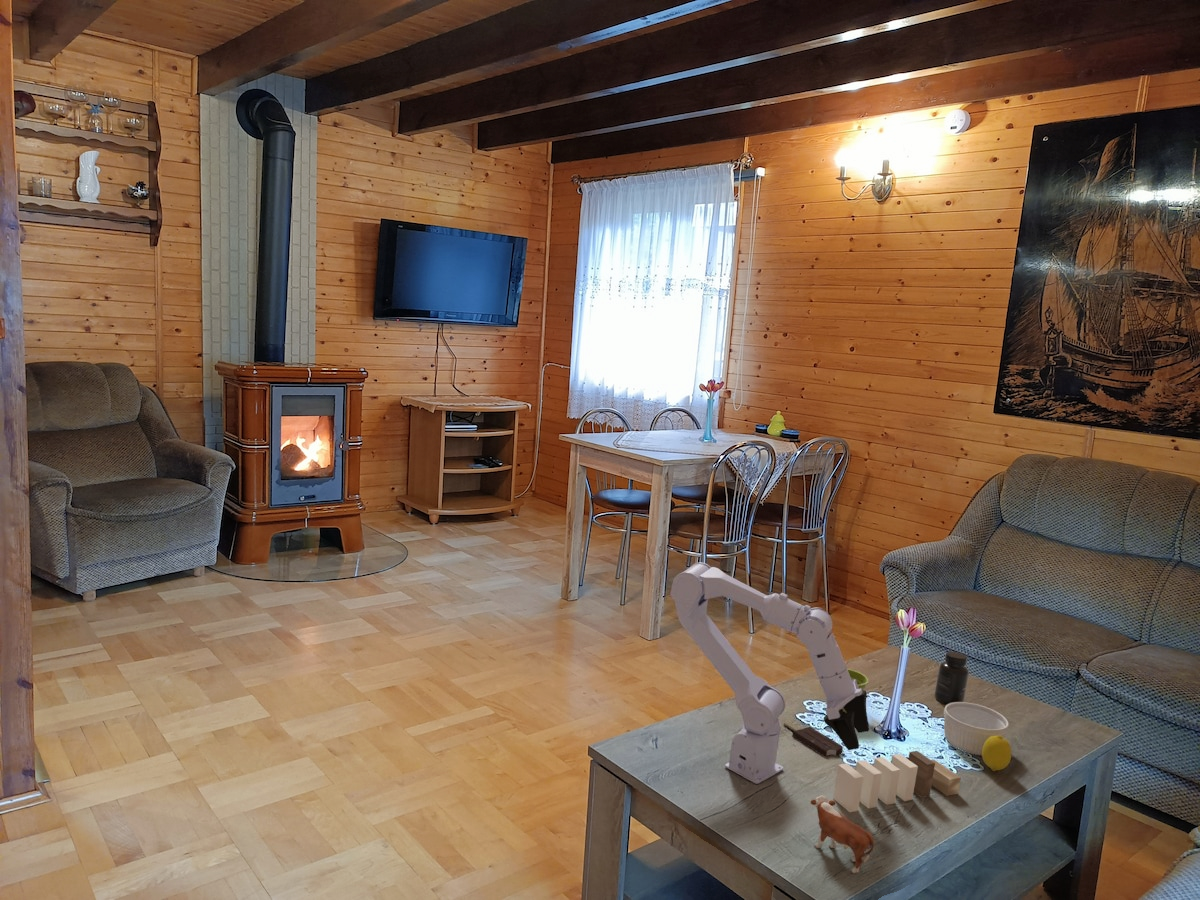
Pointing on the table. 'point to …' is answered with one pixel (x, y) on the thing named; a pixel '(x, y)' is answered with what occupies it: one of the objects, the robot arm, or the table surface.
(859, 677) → the plant pot
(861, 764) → the domino
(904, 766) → the domino
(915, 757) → the domino
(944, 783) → the end block
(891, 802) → the domino
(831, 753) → the ice cream bar
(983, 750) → the lemon
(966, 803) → the table surface
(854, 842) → the bull figurine
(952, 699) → the supplement bottle
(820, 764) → the table surface
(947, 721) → the ramekin
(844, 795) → the domino
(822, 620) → the robot arm
